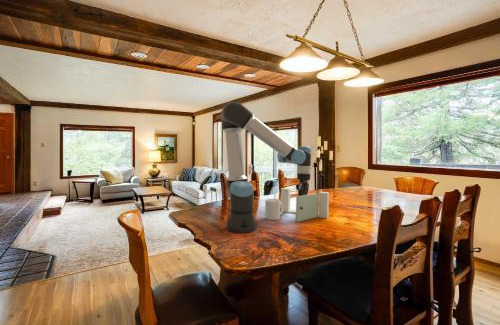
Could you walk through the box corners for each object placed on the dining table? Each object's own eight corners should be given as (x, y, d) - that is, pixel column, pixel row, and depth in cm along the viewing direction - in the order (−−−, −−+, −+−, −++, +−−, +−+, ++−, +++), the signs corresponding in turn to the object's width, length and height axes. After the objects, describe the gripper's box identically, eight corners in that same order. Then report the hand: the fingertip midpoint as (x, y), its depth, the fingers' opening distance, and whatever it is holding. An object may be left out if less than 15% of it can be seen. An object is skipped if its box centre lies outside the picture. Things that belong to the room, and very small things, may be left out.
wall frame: (280, 211, 173) (281, 188, 172) (282, 210, 175) (283, 188, 175) (326, 218, 157) (327, 193, 156) (328, 217, 160) (329, 192, 159)
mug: (287, 218, 156) (287, 200, 155) (270, 221, 150) (270, 202, 150) (279, 215, 163) (279, 197, 163) (262, 217, 158) (262, 199, 157)
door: (299, 223, 146) (300, 195, 145) (295, 222, 148) (296, 194, 147) (320, 217, 158) (321, 192, 157) (316, 216, 160) (317, 191, 159)
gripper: (306, 174, 147) (305, 216, 148) (313, 172, 158) (312, 211, 160) (293, 173, 151) (292, 214, 152) (301, 171, 162) (300, 210, 163)
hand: (302, 213), depth 156 cm, fingers closed
